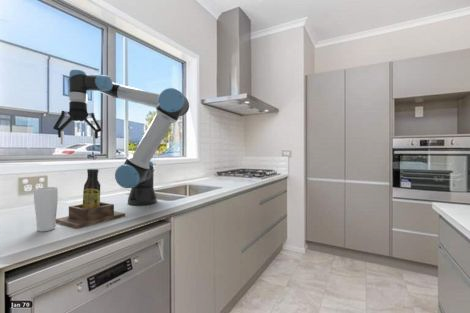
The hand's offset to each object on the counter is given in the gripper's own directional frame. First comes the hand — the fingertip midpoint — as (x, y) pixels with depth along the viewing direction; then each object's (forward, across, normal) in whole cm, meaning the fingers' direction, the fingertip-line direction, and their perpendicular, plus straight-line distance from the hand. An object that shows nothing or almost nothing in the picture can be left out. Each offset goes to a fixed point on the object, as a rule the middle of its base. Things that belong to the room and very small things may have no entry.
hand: (78, 144), depth 120 cm
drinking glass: (+32, +5, +35) cm, 48 cm away
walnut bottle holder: (+32, -8, +26) cm, 42 cm away
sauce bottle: (+31, -8, +26) cm, 41 cm away
